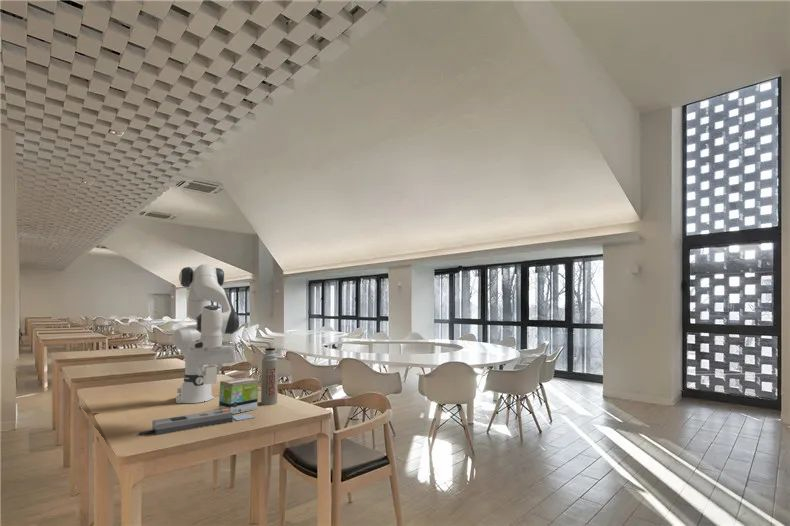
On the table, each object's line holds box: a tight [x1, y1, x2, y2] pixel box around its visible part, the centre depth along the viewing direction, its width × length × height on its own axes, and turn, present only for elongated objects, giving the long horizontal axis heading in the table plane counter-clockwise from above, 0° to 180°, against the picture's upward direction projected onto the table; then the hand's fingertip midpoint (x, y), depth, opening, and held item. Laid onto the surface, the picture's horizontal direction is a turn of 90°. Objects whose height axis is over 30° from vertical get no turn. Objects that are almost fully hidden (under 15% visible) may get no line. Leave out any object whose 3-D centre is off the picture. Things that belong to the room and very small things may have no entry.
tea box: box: [218, 377, 259, 415], centre depth 218 cm, size 15×10×15 cm
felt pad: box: [233, 413, 256, 422], centre depth 205 cm, size 8×8×1 cm
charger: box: [203, 365, 218, 385], centre depth 197 cm, size 4×4×7 cm
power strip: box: [138, 409, 234, 436], centre depth 190 cm, size 8×36×5 cm, turn 129°
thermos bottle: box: [260, 347, 279, 406], centre depth 234 cm, size 8×8×28 cm
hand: (210, 374), depth 197 cm, fingers closed on charger, 4 cm apart
